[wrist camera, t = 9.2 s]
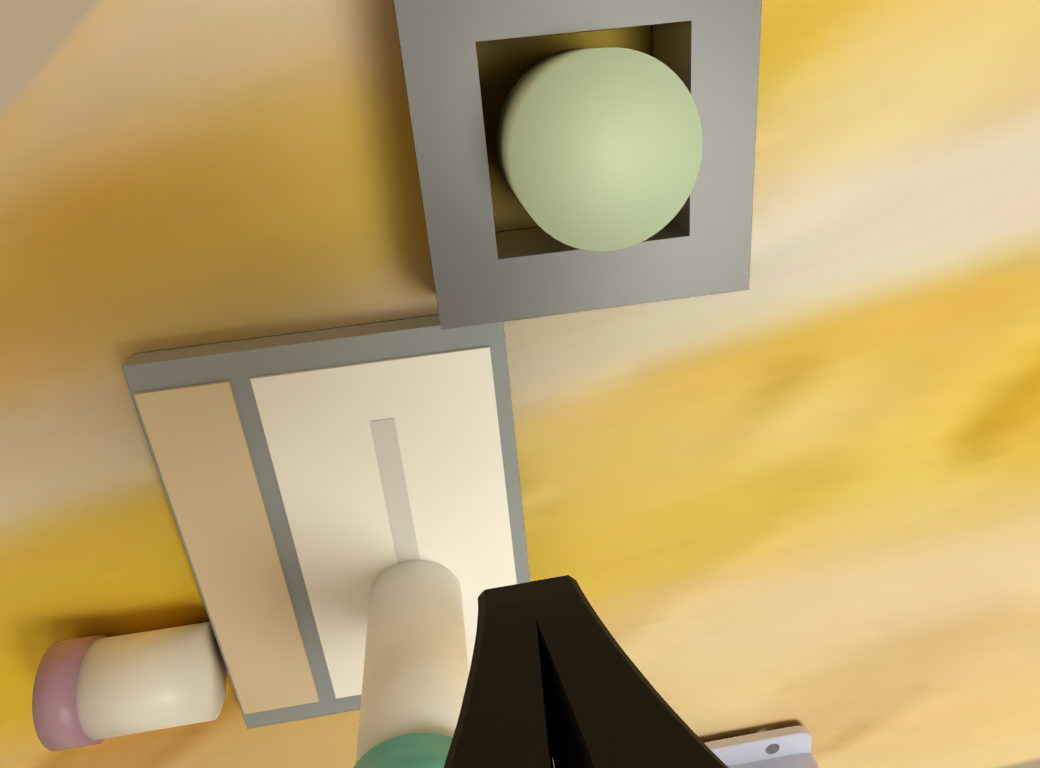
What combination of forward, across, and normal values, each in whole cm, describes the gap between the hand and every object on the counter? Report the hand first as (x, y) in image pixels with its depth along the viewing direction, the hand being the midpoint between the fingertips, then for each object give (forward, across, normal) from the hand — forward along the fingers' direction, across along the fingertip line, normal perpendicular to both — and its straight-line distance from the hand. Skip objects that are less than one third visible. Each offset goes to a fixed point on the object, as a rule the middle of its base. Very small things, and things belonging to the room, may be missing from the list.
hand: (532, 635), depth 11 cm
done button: (+8, -3, -6) cm, 10 cm away
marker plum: (+8, +8, +7) cm, 14 cm away
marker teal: (+9, +3, +6) cm, 11 cm away
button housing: (+10, -3, -6) cm, 12 cm away
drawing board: (+10, +4, +4) cm, 11 cm away
